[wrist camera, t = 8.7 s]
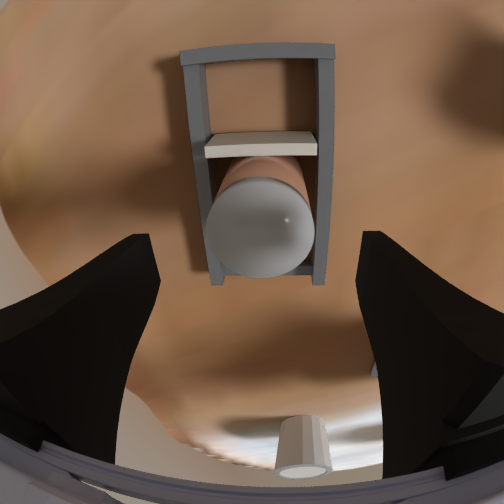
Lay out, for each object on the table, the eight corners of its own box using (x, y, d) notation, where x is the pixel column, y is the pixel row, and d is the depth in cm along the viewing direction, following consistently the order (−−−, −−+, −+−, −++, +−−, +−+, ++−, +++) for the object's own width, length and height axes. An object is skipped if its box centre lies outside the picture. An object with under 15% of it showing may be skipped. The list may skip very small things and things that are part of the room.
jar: (299, 210, 20) (308, 279, 14) (229, 208, 20) (209, 275, 14) (304, 142, 17) (319, 186, 11) (227, 140, 18) (202, 182, 12)
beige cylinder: (269, 431, 37) (266, 478, 31) (285, 409, 33) (284, 463, 27) (317, 436, 38) (318, 480, 32) (338, 415, 34) (342, 465, 28)
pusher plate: (310, 141, 17) (316, 155, 14) (216, 143, 17) (205, 158, 15) (310, 131, 17) (317, 143, 14) (215, 134, 17) (204, 146, 15)
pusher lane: (321, 270, 22) (325, 288, 20) (215, 271, 23) (210, 288, 21) (328, 46, 14) (335, 44, 12) (189, 52, 15) (179, 51, 13)
